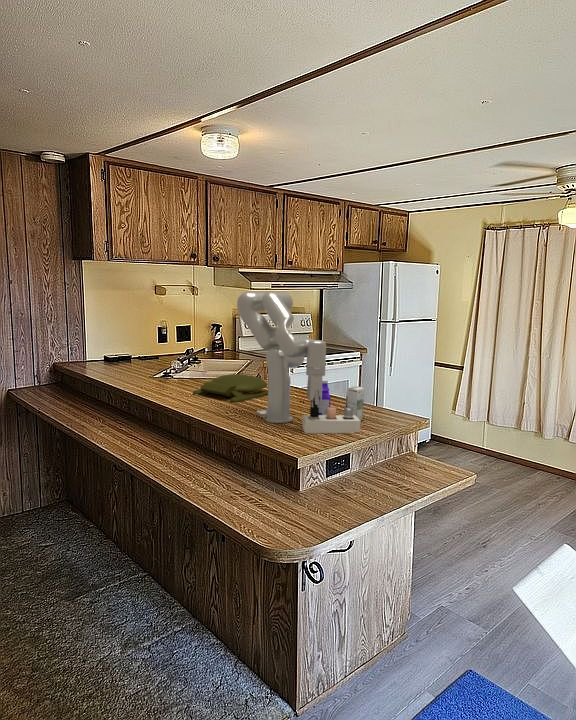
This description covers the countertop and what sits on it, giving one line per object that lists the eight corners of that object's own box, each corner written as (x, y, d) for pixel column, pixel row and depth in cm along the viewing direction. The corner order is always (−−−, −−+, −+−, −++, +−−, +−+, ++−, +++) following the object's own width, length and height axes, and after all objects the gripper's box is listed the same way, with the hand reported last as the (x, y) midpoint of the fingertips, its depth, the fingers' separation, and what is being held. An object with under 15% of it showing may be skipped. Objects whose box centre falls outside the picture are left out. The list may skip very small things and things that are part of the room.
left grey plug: (309, 430, 214) (310, 417, 213) (308, 428, 217) (308, 415, 216) (318, 430, 214) (319, 417, 213) (317, 428, 217) (317, 415, 217)
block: (305, 433, 211) (305, 420, 210) (302, 427, 220) (302, 415, 219) (359, 433, 213) (360, 420, 212) (355, 427, 222) (355, 415, 221)
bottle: (328, 417, 237) (330, 378, 234) (330, 420, 231) (331, 380, 229) (312, 417, 237) (313, 378, 234) (313, 420, 231) (314, 380, 228)
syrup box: (351, 417, 237) (353, 385, 235) (363, 420, 234) (364, 387, 231) (344, 420, 233) (345, 387, 231) (356, 422, 229) (357, 389, 227)
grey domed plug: (344, 422, 214) (345, 409, 214) (342, 420, 218) (343, 407, 217) (353, 422, 215) (354, 409, 214) (351, 420, 218) (352, 407, 218)
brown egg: (327, 422, 214) (327, 409, 213) (325, 420, 217) (326, 407, 216) (336, 422, 214) (336, 409, 213) (334, 420, 218) (335, 407, 217)
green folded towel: (235, 404, 259) (235, 384, 258) (190, 395, 277) (190, 376, 275) (278, 393, 287) (279, 375, 286) (235, 385, 305) (235, 368, 303)
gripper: (304, 368, 219) (302, 412, 222) (308, 374, 204) (307, 421, 207) (322, 368, 220) (320, 412, 222) (328, 374, 205) (326, 421, 208)
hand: (314, 416), depth 215 cm, fingers closed
